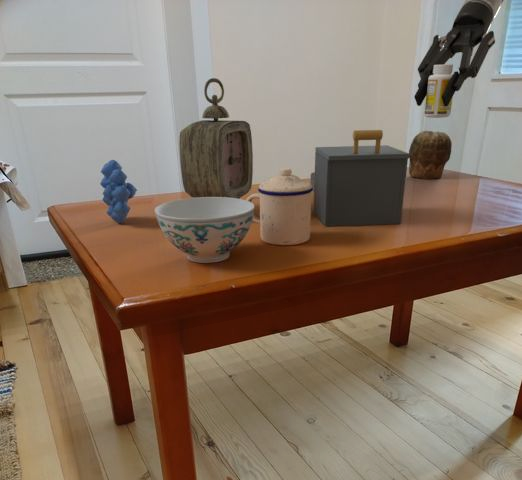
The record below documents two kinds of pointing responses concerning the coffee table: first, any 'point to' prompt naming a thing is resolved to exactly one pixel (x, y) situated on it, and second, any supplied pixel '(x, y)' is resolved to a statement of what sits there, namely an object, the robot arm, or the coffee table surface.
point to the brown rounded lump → (429, 154)
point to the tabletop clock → (216, 153)
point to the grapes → (116, 191)
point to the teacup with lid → (284, 209)
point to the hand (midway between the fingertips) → (430, 101)
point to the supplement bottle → (438, 92)
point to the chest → (359, 191)
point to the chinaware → (205, 225)
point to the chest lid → (362, 149)
